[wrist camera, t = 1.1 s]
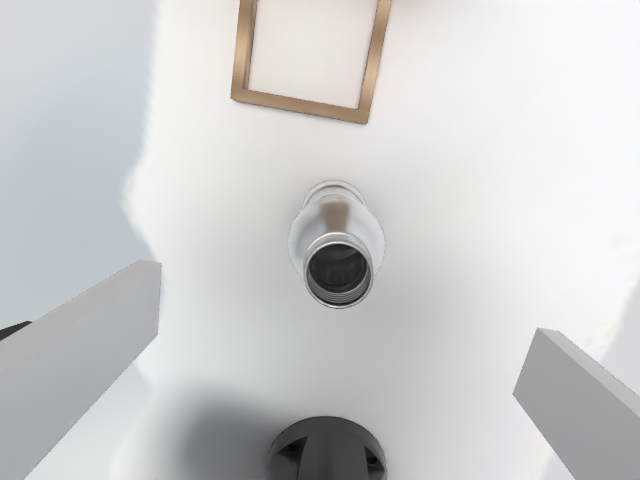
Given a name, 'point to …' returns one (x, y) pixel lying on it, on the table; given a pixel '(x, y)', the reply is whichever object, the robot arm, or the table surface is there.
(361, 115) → the headboard holder
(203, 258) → the table surface
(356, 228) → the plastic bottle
